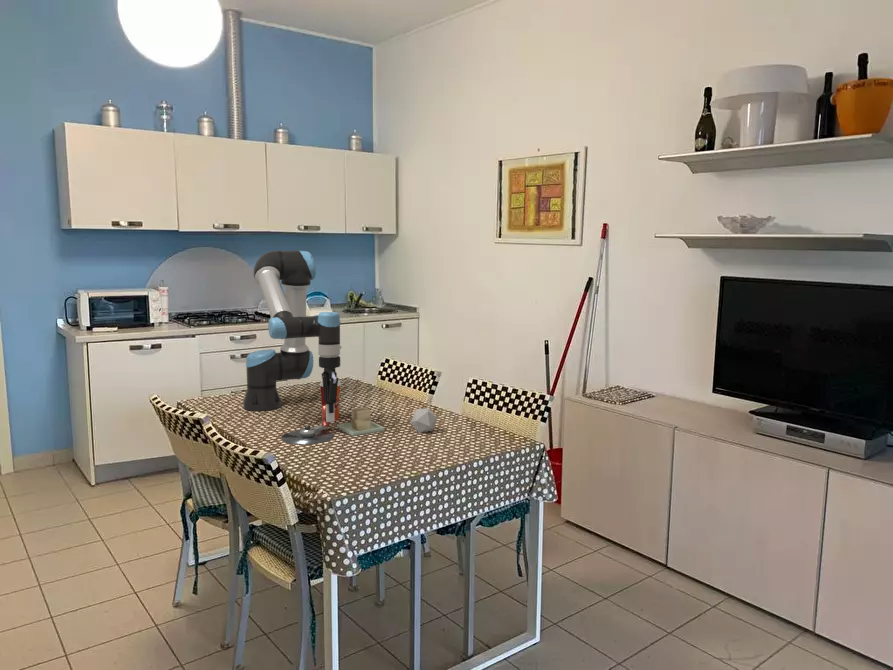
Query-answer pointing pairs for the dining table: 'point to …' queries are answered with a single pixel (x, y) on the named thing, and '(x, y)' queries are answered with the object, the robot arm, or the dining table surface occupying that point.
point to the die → (423, 420)
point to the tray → (348, 429)
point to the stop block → (361, 419)
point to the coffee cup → (336, 405)
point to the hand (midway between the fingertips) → (330, 421)
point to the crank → (312, 431)
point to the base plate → (296, 438)
